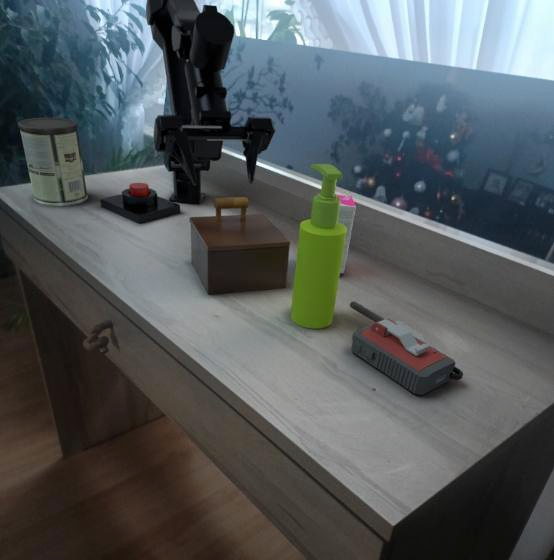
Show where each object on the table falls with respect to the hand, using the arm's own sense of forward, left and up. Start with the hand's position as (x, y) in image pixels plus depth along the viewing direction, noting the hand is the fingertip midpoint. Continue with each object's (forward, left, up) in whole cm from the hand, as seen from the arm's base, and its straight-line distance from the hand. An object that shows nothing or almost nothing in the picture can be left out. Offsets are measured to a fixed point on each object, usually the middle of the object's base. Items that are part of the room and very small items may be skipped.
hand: (223, 183), depth 81 cm
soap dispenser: (+19, +16, -12) cm, 27 cm away
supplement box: (+2, +18, -12) cm, 21 cm away
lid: (+8, +4, -5) cm, 10 cm away
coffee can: (-18, -36, -12) cm, 42 cm away
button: (-16, -19, -8) cm, 27 cm away
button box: (-16, -19, -12) cm, 28 cm away
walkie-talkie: (+26, +26, -12) cm, 38 cm away
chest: (+8, +4, -12) cm, 15 cm away
